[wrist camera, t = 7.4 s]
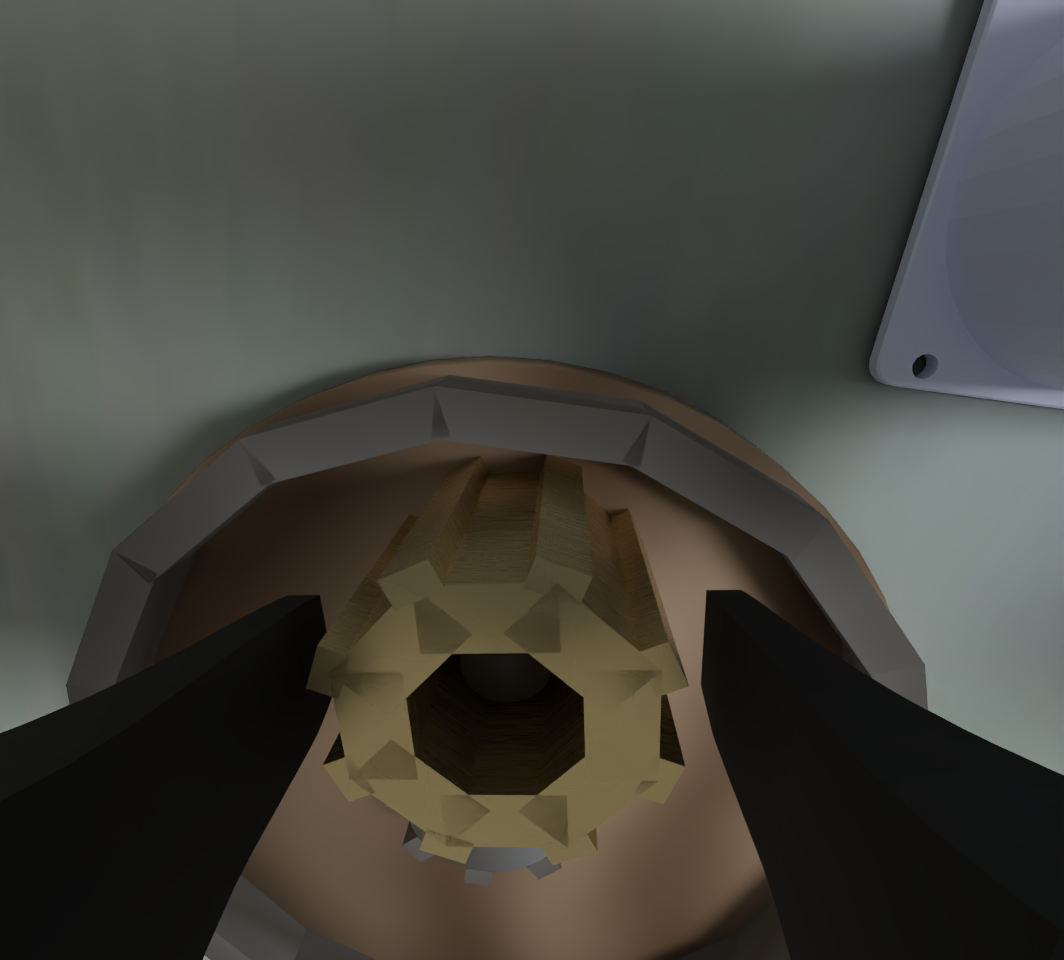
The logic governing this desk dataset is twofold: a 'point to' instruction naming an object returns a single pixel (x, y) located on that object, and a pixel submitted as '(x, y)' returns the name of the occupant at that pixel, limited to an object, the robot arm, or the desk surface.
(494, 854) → the gear carrier
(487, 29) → the desk surface
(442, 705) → the planet gear
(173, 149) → the desk surface
